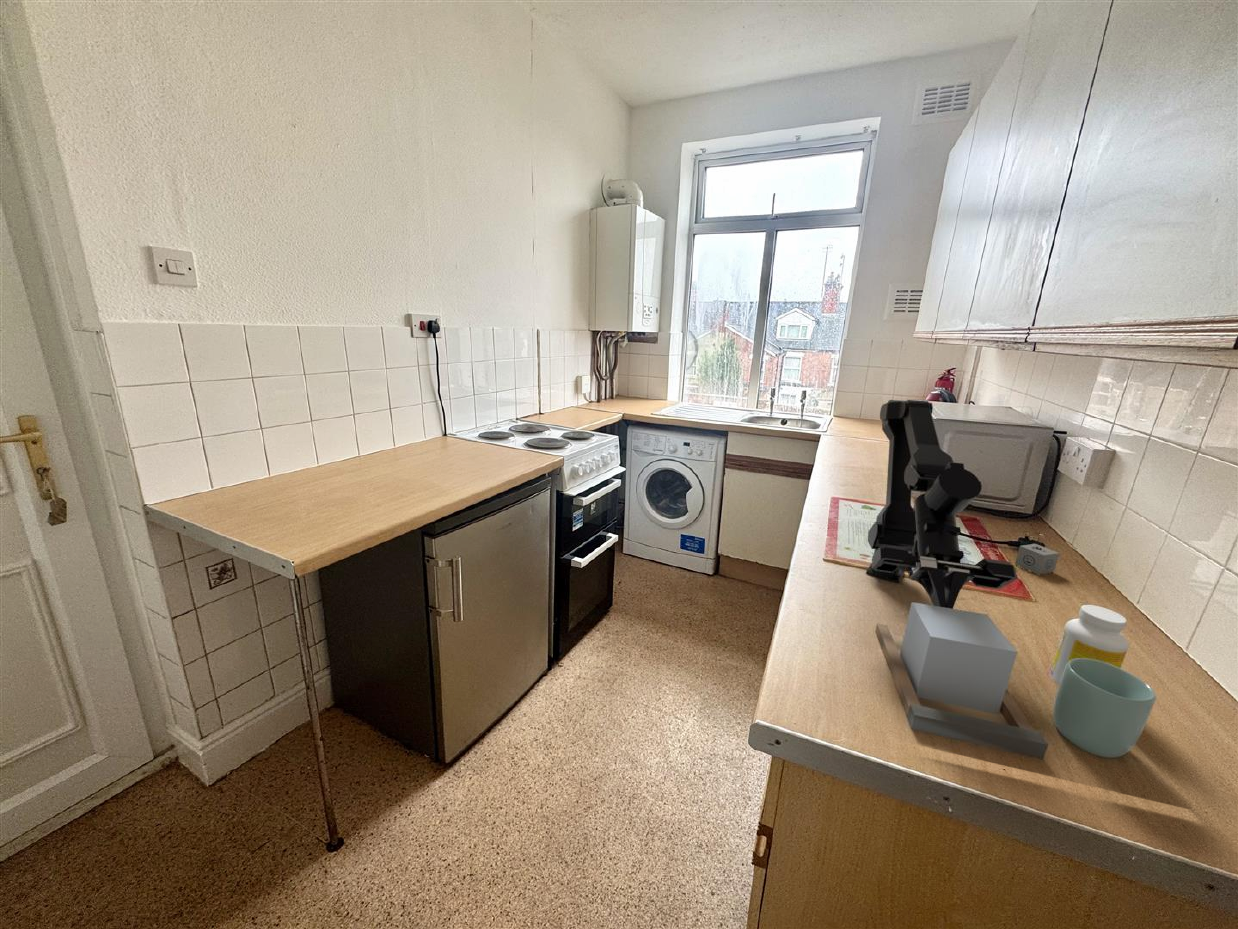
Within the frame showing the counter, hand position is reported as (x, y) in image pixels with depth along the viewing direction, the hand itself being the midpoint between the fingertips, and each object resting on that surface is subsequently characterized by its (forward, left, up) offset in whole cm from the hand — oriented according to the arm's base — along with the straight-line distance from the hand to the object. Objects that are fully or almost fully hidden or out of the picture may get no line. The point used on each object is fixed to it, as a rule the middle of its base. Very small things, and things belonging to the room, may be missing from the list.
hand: (944, 619), depth 72 cm
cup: (+4, +17, -9) cm, 20 cm away
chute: (+4, +2, -9) cm, 10 cm away
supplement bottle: (-10, +17, -9) cm, 22 cm away
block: (+4, +2, -8) cm, 9 cm away
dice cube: (-56, +13, -9) cm, 59 cm away
